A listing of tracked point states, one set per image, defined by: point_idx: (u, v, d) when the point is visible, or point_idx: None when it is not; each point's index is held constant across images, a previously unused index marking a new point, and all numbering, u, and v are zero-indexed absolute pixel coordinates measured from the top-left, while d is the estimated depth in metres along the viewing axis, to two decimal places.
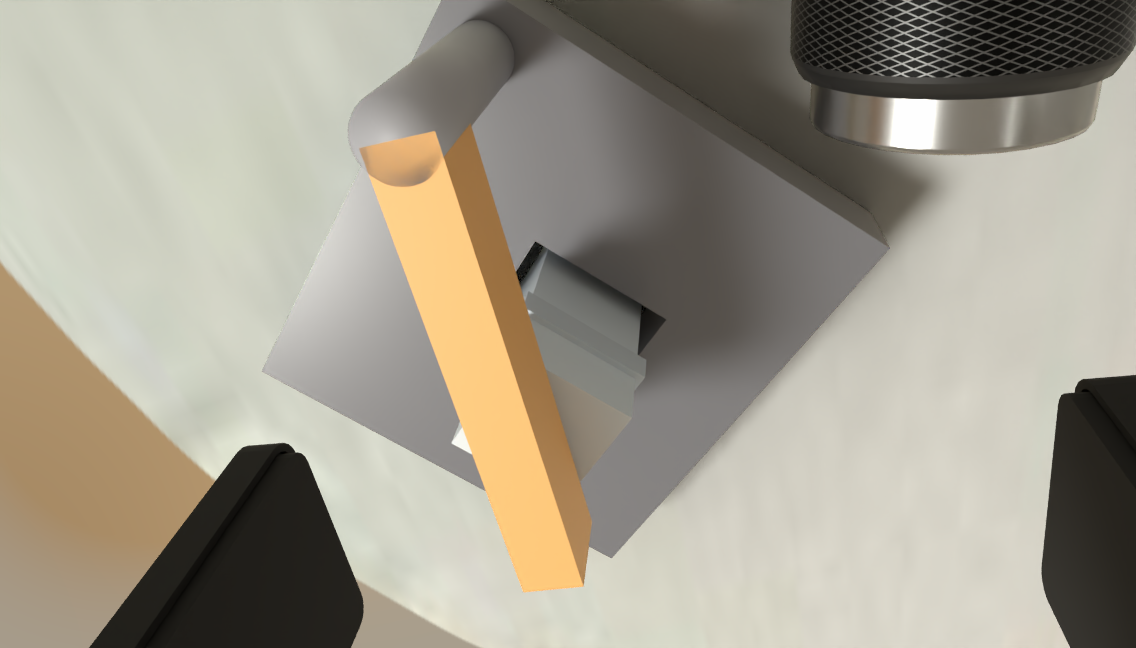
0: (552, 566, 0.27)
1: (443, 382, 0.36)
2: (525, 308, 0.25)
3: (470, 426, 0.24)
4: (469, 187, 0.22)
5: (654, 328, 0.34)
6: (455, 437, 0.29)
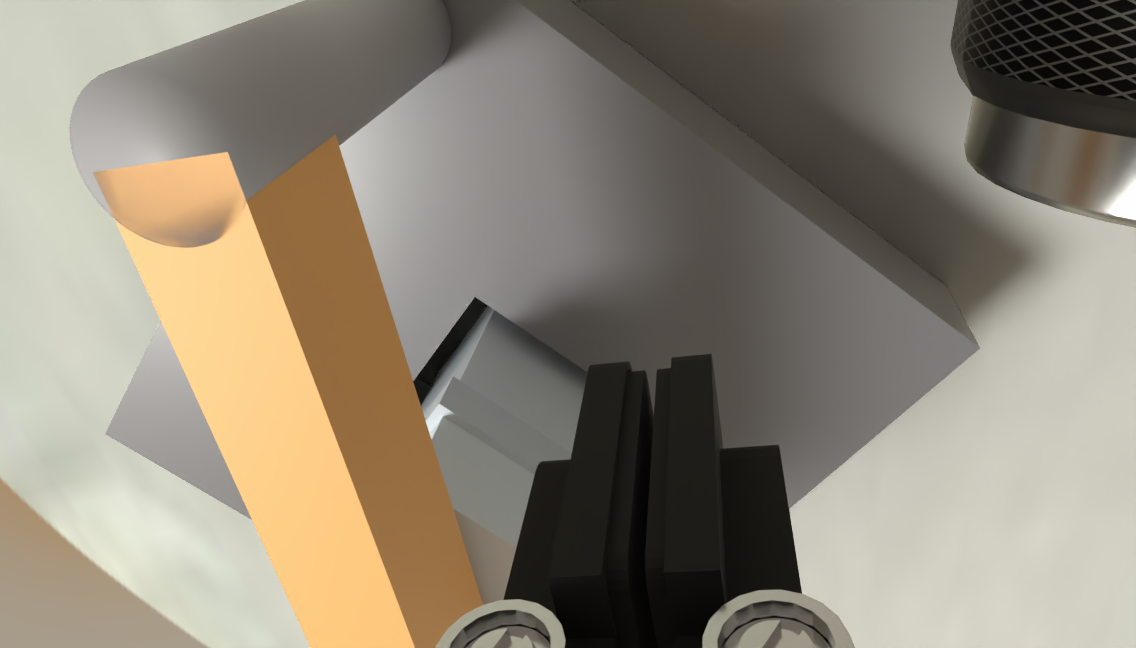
0: None
1: None
2: (424, 430, 0.16)
3: (313, 627, 0.15)
4: (314, 249, 0.13)
5: None
6: None
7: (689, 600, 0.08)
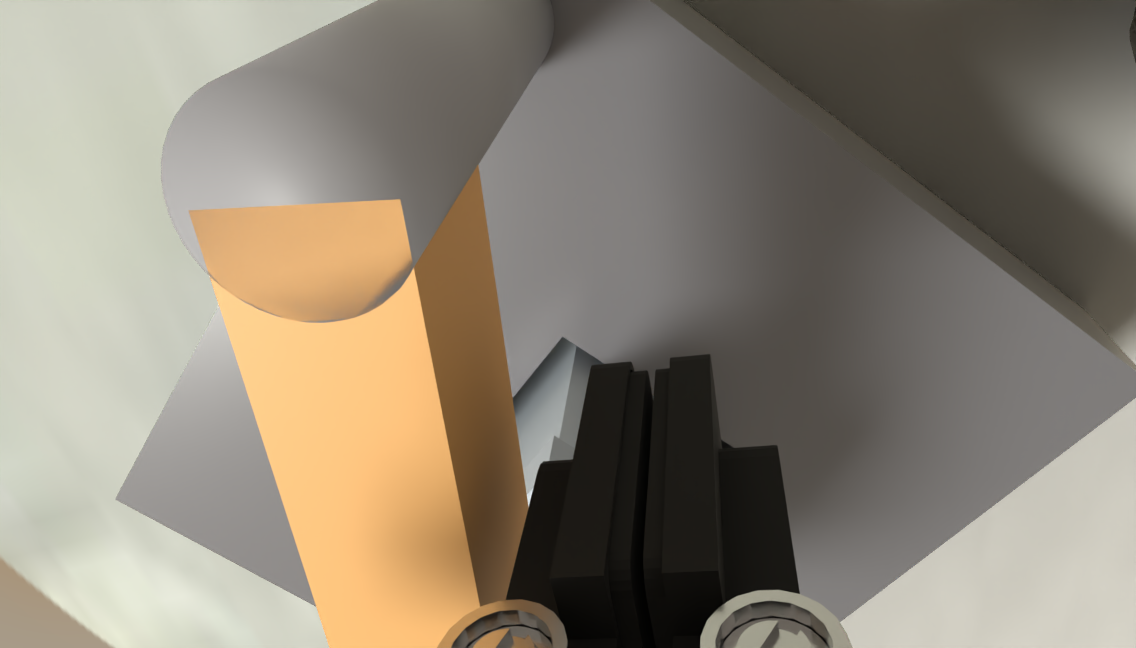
0: None
1: None
2: None
3: None
4: (462, 322, 0.09)
5: None
6: None
7: (687, 600, 0.08)
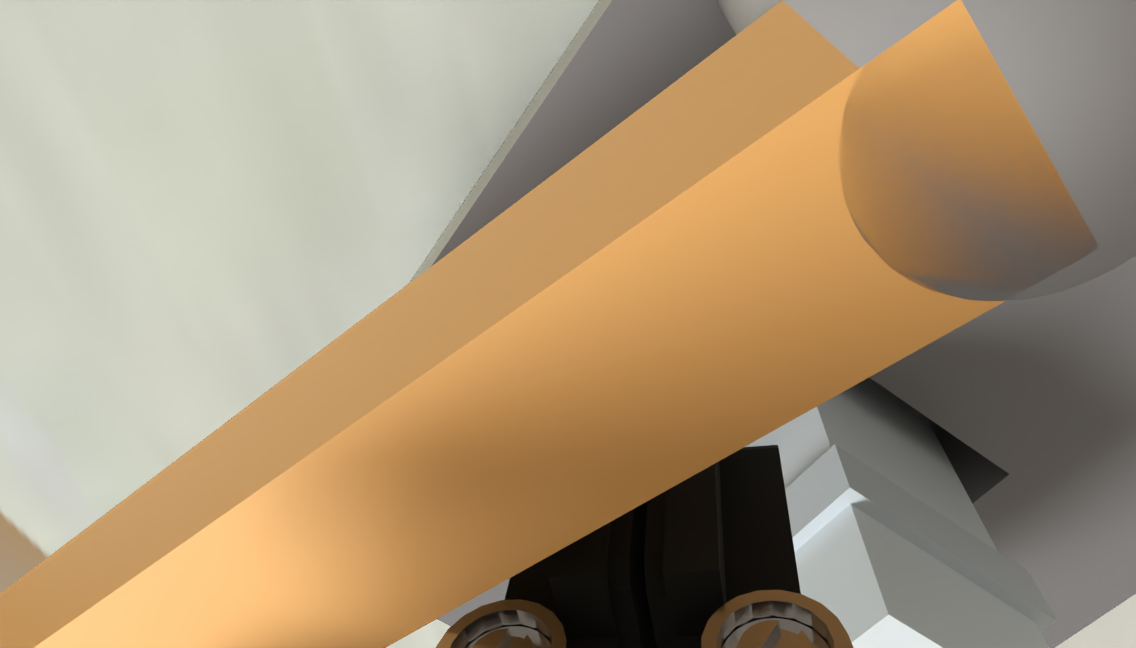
0: None
1: None
2: None
3: (132, 609, 0.08)
4: None
5: (967, 481, 0.20)
6: None
7: (688, 600, 0.08)
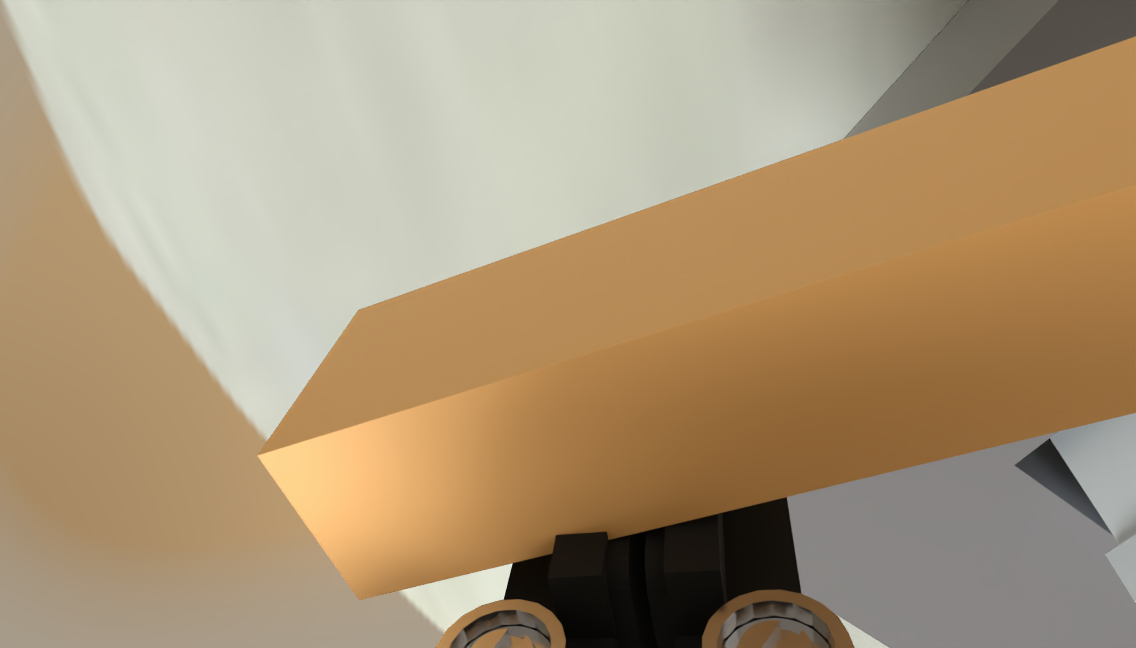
0: (404, 526, 0.08)
1: (949, 512, 0.20)
2: None
3: (982, 263, 0.06)
4: None
5: None
6: None
7: (689, 600, 0.08)
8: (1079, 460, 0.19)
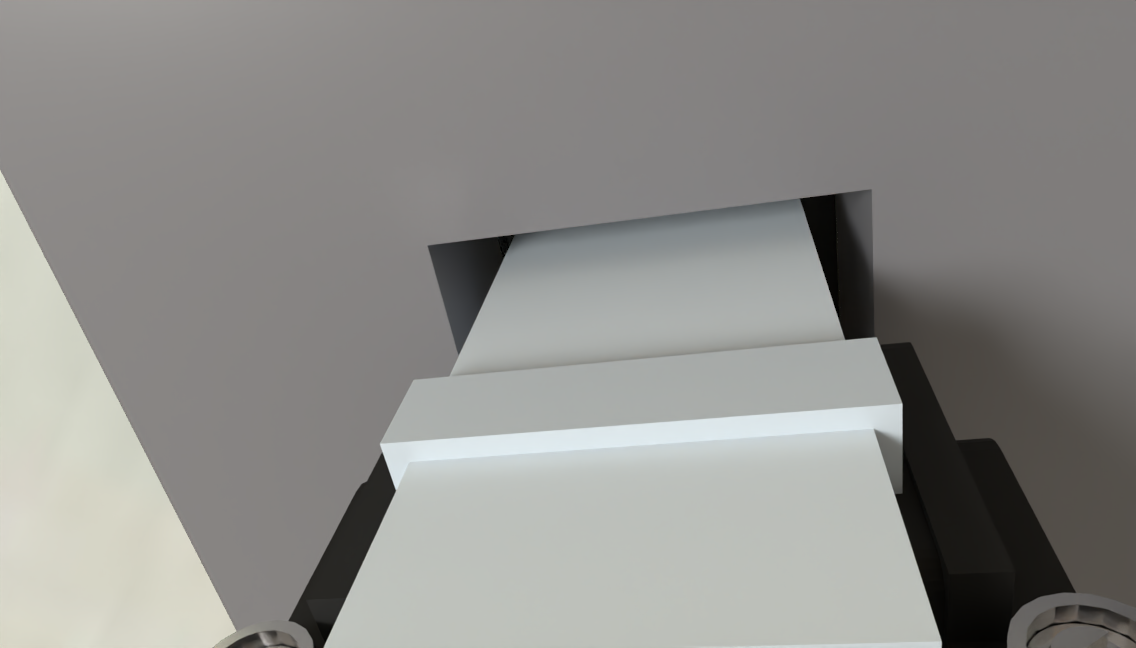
0: None
1: (307, 256, 0.12)
2: None
3: None
4: None
5: None
6: None
7: (973, 604, 0.07)
8: (506, 290, 0.12)
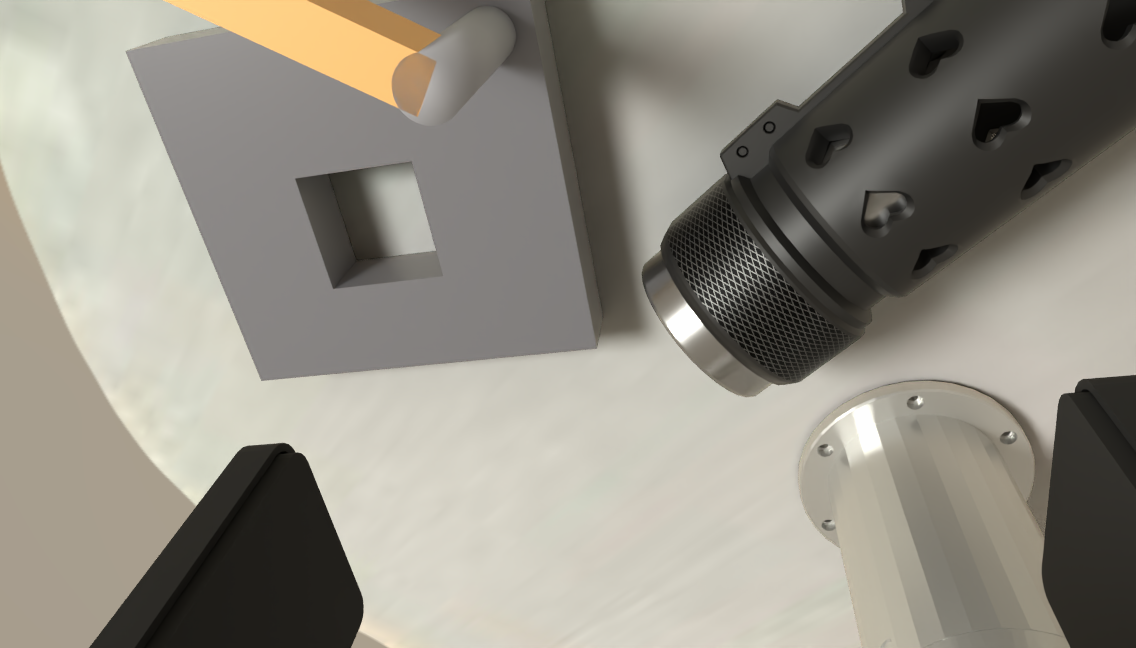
0: None
1: (260, 182, 0.41)
2: None
3: None
4: None
5: (429, 272, 0.43)
6: None
7: None
8: None
